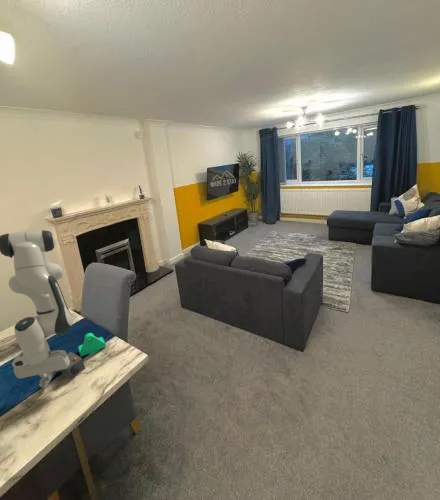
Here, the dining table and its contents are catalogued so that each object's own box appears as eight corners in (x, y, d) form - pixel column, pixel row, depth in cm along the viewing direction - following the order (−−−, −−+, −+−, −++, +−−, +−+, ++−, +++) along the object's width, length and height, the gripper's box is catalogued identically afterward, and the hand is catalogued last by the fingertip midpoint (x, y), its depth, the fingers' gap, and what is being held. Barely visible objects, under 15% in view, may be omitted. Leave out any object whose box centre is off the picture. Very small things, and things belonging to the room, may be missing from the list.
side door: (55, 369, 123) (52, 361, 121) (58, 369, 123) (55, 361, 121) (41, 389, 112) (37, 381, 111) (44, 389, 112) (41, 381, 111)
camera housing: (59, 371, 123) (55, 360, 121) (74, 361, 128) (70, 350, 126) (72, 380, 117) (67, 368, 115) (86, 369, 123) (82, 358, 120)
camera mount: (103, 340, 142) (98, 324, 139) (106, 347, 136) (101, 331, 133) (79, 350, 136) (74, 334, 133) (81, 358, 130) (75, 341, 127)
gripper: (66, 344, 114) (75, 368, 118) (15, 354, 110) (26, 378, 115) (61, 353, 108) (71, 379, 112) (7, 364, 104) (19, 390, 109)
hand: (48, 379), depth 114 cm, fingers closed
